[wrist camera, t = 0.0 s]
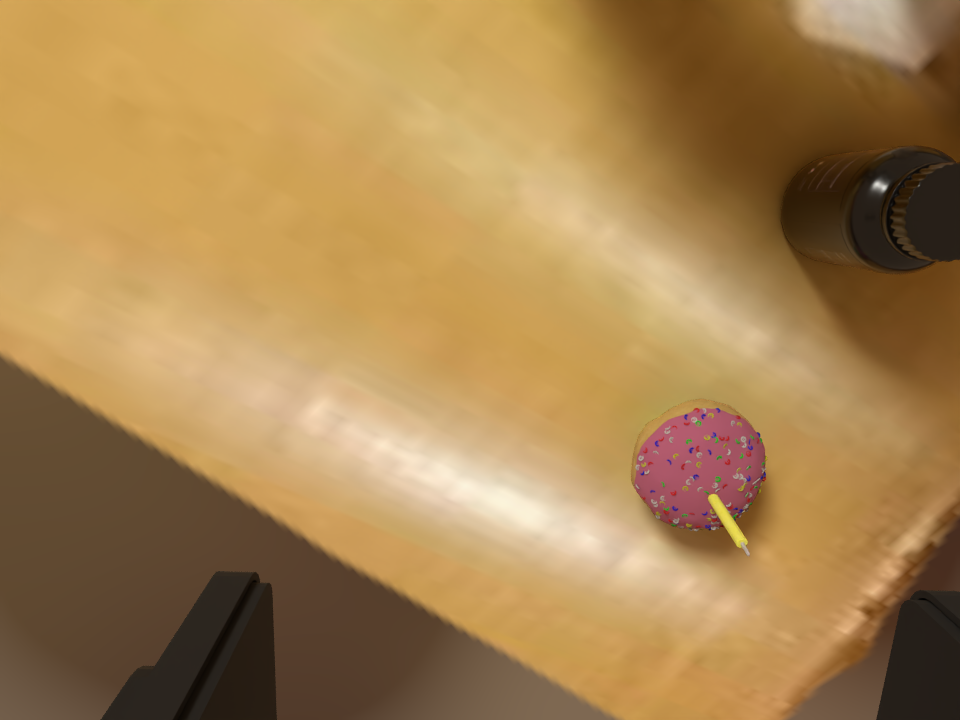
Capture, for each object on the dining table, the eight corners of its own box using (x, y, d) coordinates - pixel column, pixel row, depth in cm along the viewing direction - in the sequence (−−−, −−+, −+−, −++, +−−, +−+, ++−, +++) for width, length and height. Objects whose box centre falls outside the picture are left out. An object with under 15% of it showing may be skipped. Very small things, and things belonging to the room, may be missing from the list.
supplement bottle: (900, 218, 46) (1048, 230, 34) (810, 281, 47) (923, 313, 35) (849, 130, 44) (985, 111, 33) (757, 195, 45) (857, 200, 34)
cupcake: (747, 480, 50) (832, 569, 38) (632, 510, 51) (681, 609, 39) (724, 368, 48) (807, 427, 36) (604, 401, 48) (647, 471, 37)
